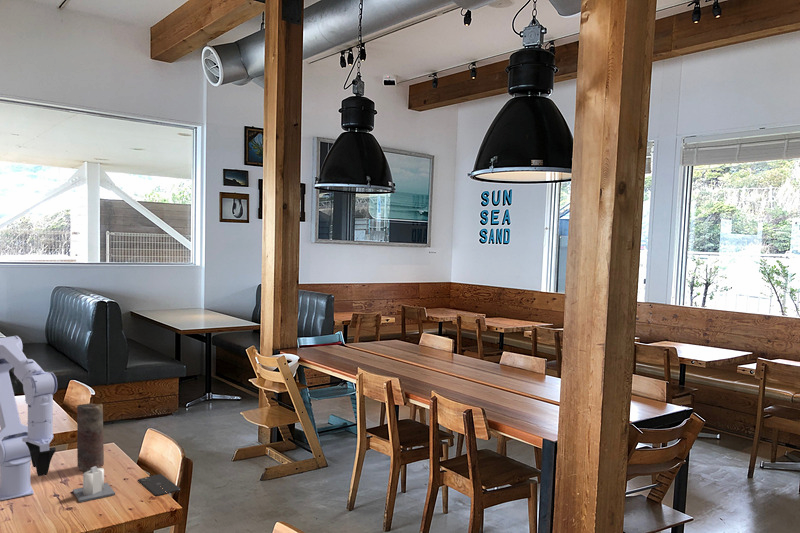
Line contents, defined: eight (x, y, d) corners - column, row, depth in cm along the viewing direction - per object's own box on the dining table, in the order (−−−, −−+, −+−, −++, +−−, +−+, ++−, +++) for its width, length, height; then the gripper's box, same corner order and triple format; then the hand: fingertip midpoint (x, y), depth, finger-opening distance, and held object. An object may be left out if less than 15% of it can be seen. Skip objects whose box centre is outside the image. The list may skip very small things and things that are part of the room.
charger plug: (80, 493, 173) (80, 469, 173) (99, 486, 178) (99, 463, 178) (88, 496, 172) (88, 471, 172) (106, 488, 177) (106, 465, 177)
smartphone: (155, 495, 174) (136, 478, 185) (155, 498, 174) (136, 481, 185) (181, 488, 179) (161, 472, 190) (181, 491, 179) (161, 475, 190)
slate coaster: (72, 491, 176) (72, 489, 176) (107, 484, 182) (107, 482, 182) (79, 502, 169) (79, 500, 169) (115, 495, 174) (115, 492, 174)
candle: (72, 468, 193) (72, 404, 192) (95, 461, 199) (95, 399, 198) (85, 474, 189) (85, 408, 188) (108, 467, 195) (109, 403, 194)
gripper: (18, 415, 168) (18, 465, 168) (26, 429, 156) (26, 482, 157) (48, 411, 172) (48, 460, 173) (58, 424, 160) (58, 476, 161)
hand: (40, 470), depth 165 cm, fingers open, 7 cm apart
